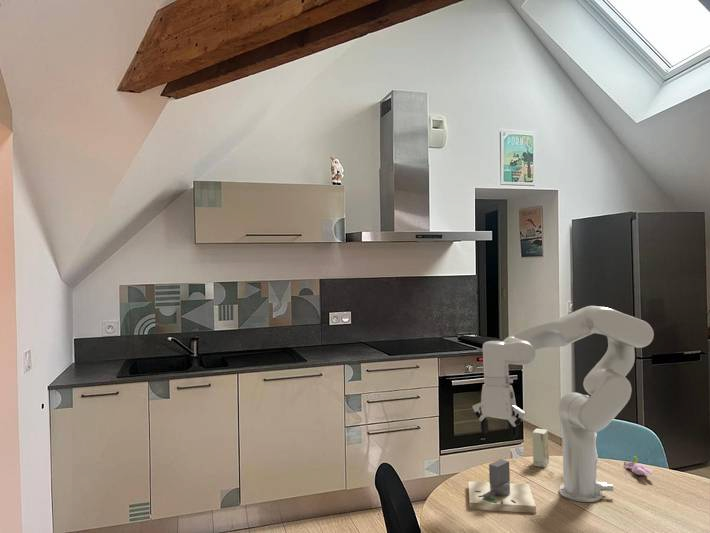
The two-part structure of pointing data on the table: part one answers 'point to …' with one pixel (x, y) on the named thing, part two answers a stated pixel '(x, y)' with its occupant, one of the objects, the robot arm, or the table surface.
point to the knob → (499, 479)
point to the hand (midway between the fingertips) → (499, 435)
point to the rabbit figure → (637, 467)
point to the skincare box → (540, 447)
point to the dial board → (501, 498)
